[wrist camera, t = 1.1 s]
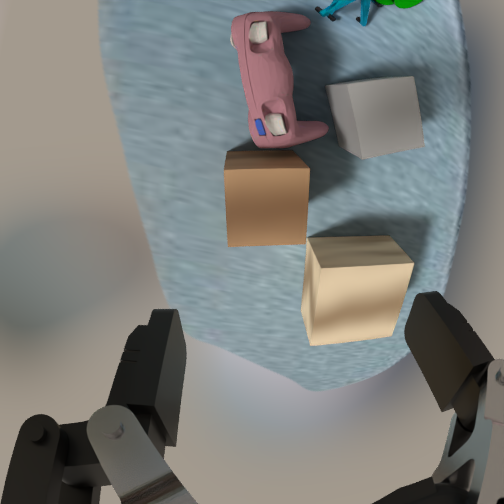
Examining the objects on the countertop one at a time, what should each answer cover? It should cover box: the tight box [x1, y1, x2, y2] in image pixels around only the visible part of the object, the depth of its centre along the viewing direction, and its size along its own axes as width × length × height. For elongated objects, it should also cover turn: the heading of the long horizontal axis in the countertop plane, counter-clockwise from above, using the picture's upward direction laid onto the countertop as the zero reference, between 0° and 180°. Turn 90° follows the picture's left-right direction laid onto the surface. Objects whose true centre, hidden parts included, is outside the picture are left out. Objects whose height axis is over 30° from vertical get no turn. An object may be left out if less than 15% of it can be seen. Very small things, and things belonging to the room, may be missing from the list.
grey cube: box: [325, 76, 425, 160], centre depth 19 cm, size 5×5×5 cm
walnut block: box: [224, 150, 310, 247], centre depth 21 cm, size 5×5×6 cm
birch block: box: [301, 236, 414, 346], centre depth 26 cm, size 8×8×5 cm
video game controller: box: [230, 11, 329, 148], centre depth 18 cm, size 10×5×7 cm, turn 10°
